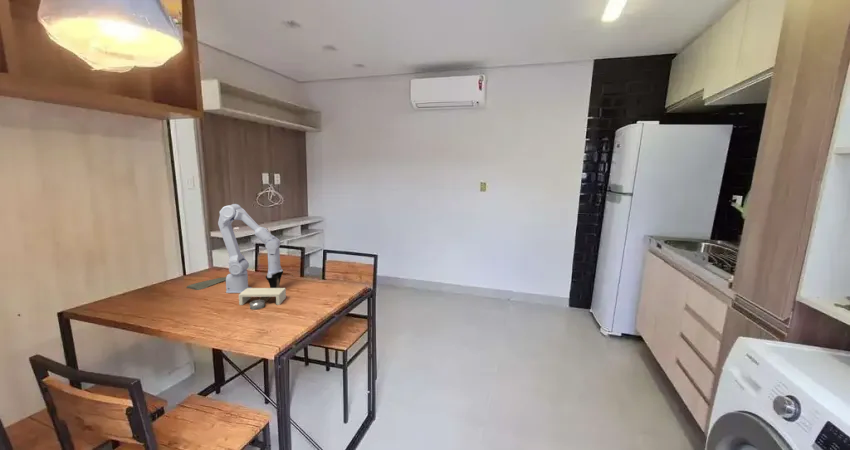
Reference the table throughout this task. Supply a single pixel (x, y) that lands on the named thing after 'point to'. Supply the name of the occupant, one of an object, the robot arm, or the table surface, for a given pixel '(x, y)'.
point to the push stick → (270, 287)
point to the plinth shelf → (263, 294)
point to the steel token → (257, 304)
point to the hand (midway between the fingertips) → (275, 287)
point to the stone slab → (205, 283)
